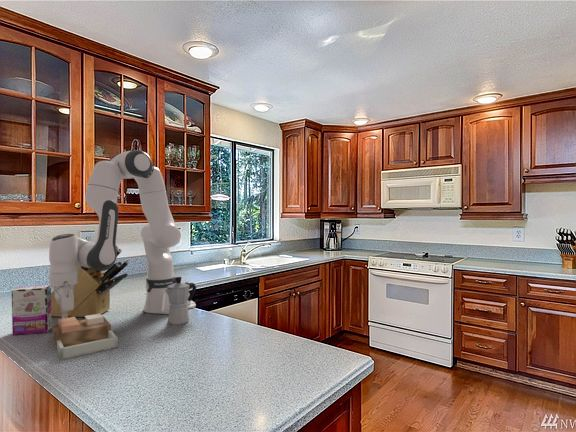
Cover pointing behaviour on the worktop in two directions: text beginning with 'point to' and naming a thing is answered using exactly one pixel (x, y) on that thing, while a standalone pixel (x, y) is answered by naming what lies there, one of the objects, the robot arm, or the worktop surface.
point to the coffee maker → (179, 301)
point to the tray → (87, 347)
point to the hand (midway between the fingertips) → (64, 317)
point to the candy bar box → (31, 310)
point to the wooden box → (82, 333)
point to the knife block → (92, 290)
